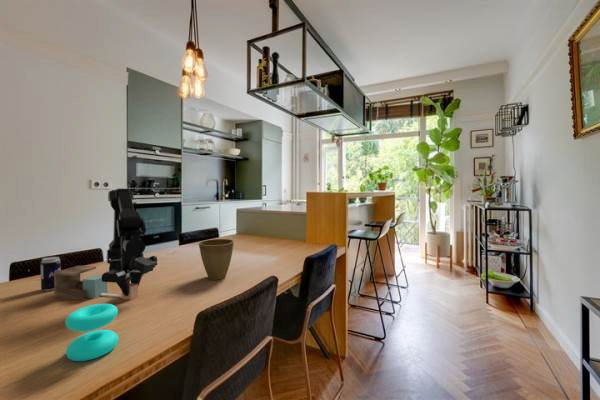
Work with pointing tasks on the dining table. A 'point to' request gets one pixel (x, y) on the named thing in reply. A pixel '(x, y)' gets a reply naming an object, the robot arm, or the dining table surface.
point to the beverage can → (49, 272)
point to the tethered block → (105, 288)
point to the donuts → (93, 341)
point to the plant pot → (216, 257)
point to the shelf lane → (70, 282)
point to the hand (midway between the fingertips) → (130, 293)
